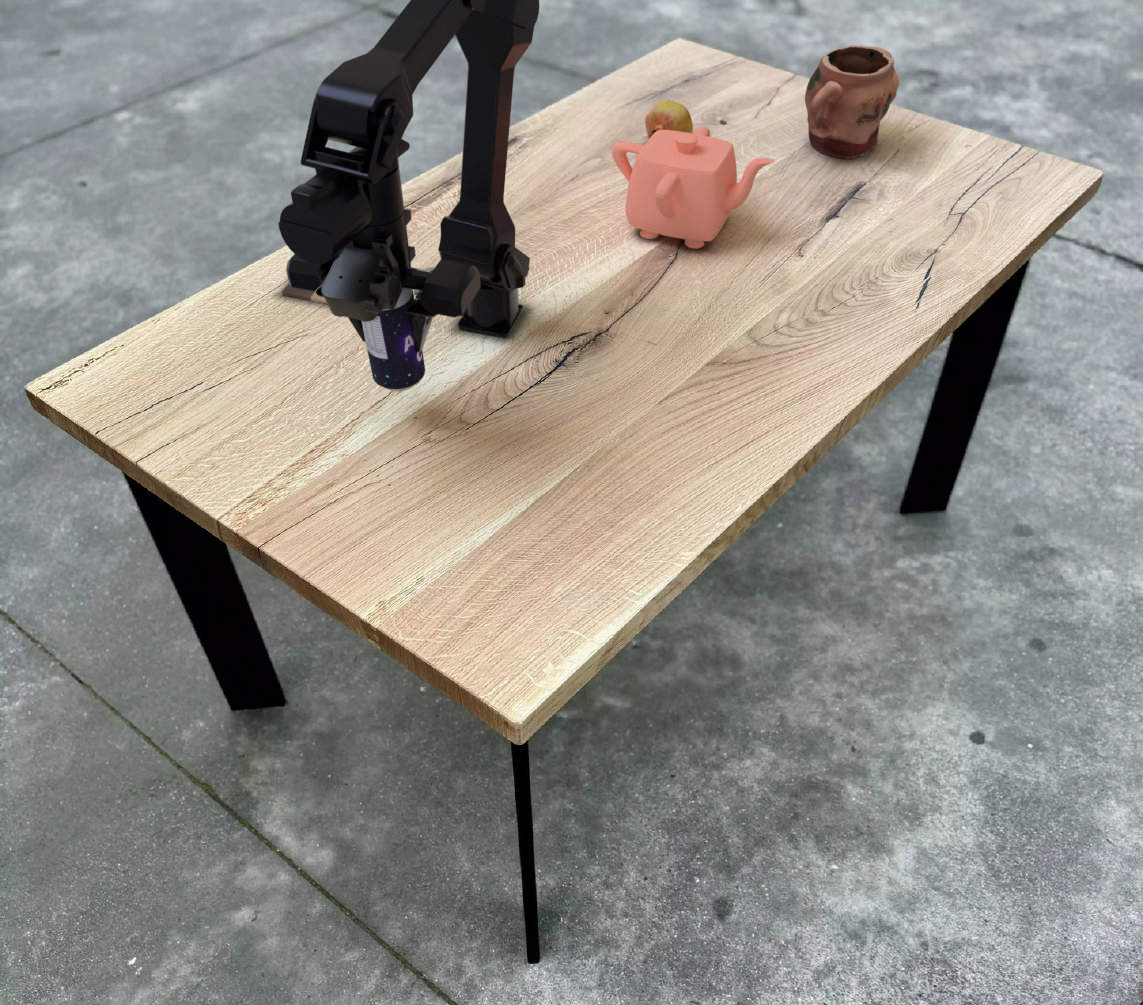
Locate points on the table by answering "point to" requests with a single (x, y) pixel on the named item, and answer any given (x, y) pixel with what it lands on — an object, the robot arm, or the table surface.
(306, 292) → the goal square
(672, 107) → the fruit
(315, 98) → the robot arm
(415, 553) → the table surface
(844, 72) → the decorative planter
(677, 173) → the teapot
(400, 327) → the beverage can
